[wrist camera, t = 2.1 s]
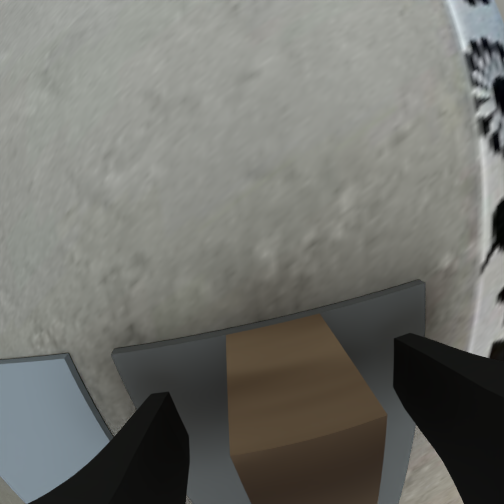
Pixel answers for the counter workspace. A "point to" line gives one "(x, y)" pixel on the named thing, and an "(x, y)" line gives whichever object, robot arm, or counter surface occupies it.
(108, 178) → the counter surface
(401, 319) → the charcoal mat
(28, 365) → the slate mat
